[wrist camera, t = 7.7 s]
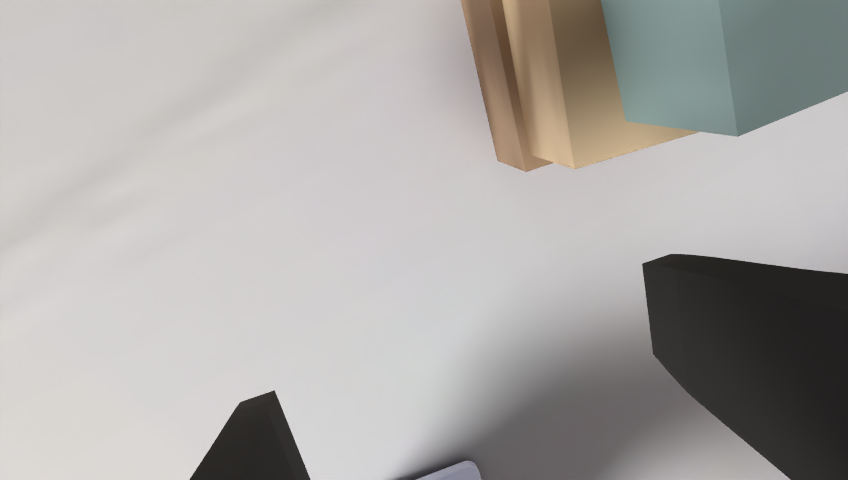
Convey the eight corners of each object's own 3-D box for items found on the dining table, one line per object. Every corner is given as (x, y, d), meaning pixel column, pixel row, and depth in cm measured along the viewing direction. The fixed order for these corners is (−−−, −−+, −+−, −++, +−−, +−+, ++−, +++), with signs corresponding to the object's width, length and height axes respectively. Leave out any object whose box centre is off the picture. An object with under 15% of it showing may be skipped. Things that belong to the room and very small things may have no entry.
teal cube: (754, 70, 16) (902, 68, 12) (625, 121, 15) (737, 136, 11) (734, -88, 14) (894, -145, 11) (592, -37, 14) (707, -79, 10)
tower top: (696, 106, 19) (768, 111, 16) (529, 154, 18) (575, 168, 15) (679, -95, 17) (758, -129, 14) (492, -52, 16) (537, -79, 13)
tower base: (661, 104, 22) (717, 108, 19) (493, 158, 21) (525, 172, 18) (636, -97, 20) (694, -125, 17) (446, -46, 19) (474, -68, 16)
